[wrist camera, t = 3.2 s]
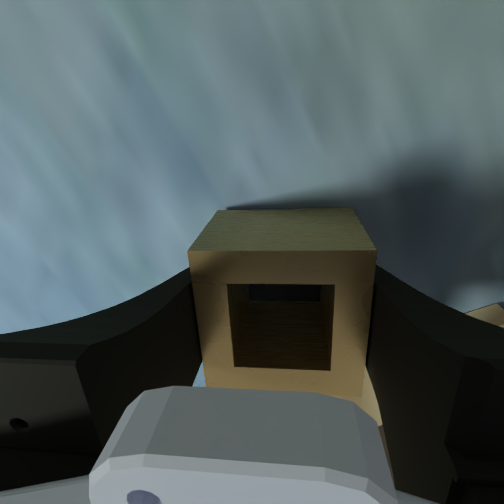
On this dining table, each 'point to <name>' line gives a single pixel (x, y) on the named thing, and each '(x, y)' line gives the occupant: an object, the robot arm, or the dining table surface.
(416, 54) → the dining table surface
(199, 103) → the dining table surface
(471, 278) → the dining table surface
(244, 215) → the collar
